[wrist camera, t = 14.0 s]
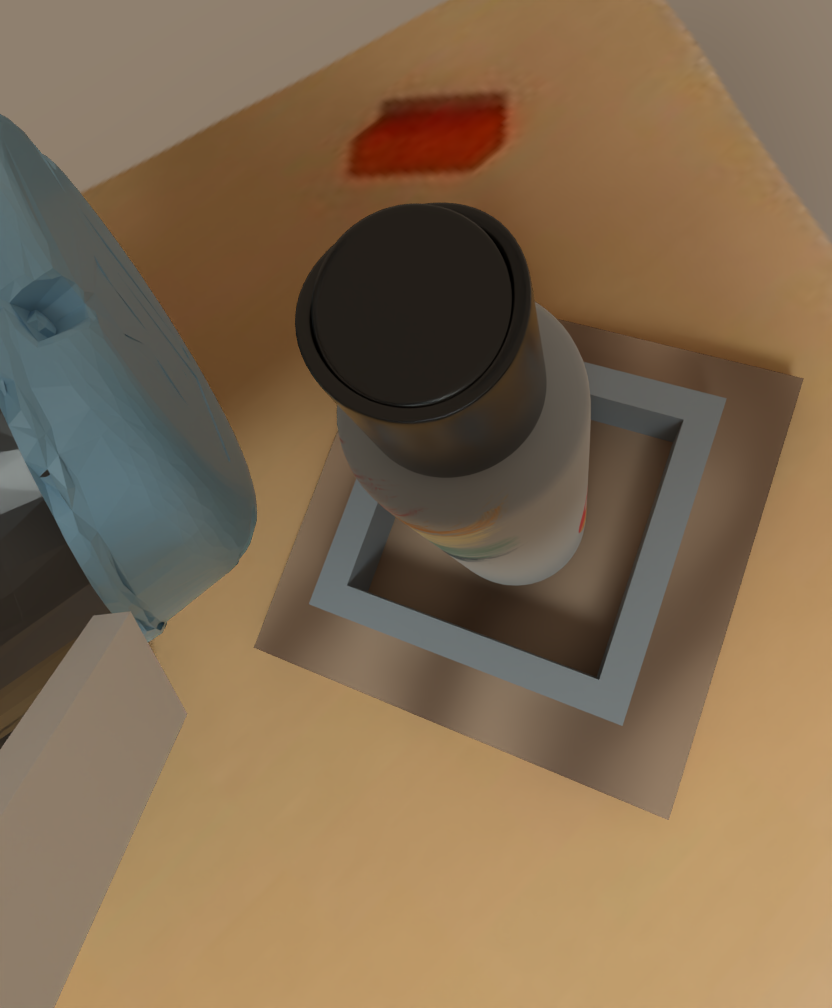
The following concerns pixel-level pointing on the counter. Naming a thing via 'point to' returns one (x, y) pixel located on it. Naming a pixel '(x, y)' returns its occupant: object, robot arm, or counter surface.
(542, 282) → the counter surface
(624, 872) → the counter surface
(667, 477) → the bottle collar
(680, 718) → the stand board
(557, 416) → the lotion bottle
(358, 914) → the counter surface
